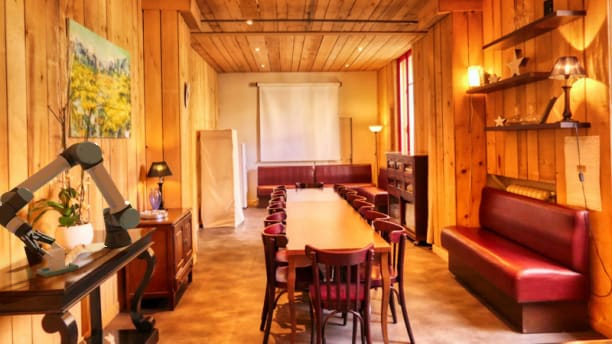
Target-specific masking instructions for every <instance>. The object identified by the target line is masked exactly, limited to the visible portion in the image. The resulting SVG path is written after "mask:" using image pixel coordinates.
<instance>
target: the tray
mask: <svg viewBox="0 0 612 344" xmlns="http://www.w3.org/2000/svg"><path fill="white" fill-rule="evenodd" d="M79 267H80V266H79V264H76V263H73V262H70V263H69V267H66V268H64V269H61V270H57V271H53V272H50V271H49V266H47V267H42V268H39V269H36V271H37V275H39V276H42V277H44V278H48V279H49V278H51V277H55V276H56V277H57V276H60V275H63V274H67V273H71V272H74V271H79V270H80V268H79Z"/></svg>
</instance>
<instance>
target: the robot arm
mask: <svg viewBox="0 0 612 344" xmlns="http://www.w3.org/2000/svg"><path fill="white" fill-rule="evenodd" d="M104 162H105V158H103V151H102V147H101V146H100V145H99V144H98V143H96V142H94V141H89V140H88V141H87V140H86V141H81V142H76V143H73V144H71V145H70V146H68V147H67V148H65V149H64V150H63V151H61V152H60V153H59V154H57V156H56V158H55V159H53V160H52V161H51V162H49V163H48V164H47V165H45V166H44V167H42V168H41V169H39V170H38V171H36V172H35V173H34V174H32V175H30V176H29V177H27V178H26V179H25V180H24V181H22V182H21V183H19V184H18V185H16V186H15V187H14V188H12V189H10V190H9V191H6V192H3V193H2V194H1V195H0V227H3V228H4V229H6V230H7V232H8V233H9V232H10V233H12V234H13V235H14V236H15V237H17V238H18V239H19V241H20V242H22V243H24V246H25V245H26V246H27V247H28V248H29V250H30V251H31V252H32V253H34V254H36V253H38V254H40V255H41V256H42V257H43V259H45V260H46V261H47V260H48V261H50V260H51V259H52V257H53V256H52V255H51V254H50V253H48V252H47V250H46V249H44V248H43V247H42V248H40V247H39V245H38V244H37V243H38V242H39V243H42V244H43V243H44V244H47V245H48V246H50V247H51V248H52V249H55V248H64V247H63V246H61V245H60V244H59V243H57V242H56V241H57V239H56V238H54V237H52V236H50V235H48V234H46V233H44V232H41V231H40V230H38V229H36V230H35V231H34V230H33V225H31V224H30V223H29V222H27V221H26V220H25V219H24V218H22V217H20V216H19V215H17V214H18V213H19V212H21V211H22V210H23V209H24V208H25V207H26V206H27V205H28V204H29V203H31V202H32V200H34V198H35V195H34V193H36V192H37V191H39V190H40V189H41V188H43V187H45V186H46V185H47V184H49V183H50V182H51V181H52V180H54V179H55V178H57V177H58V176H59V175H61V174H63V172H65V171H66V170H71V169H72V168H75V167H76V166H80V168H81V169H82V170H83V171H84V172H87V173H88V175H89V176H90V178H91V179H92V182H93V183H94V184H95V186H96V187H97V189H98V191H99V192H100V195H102V197H103V199H104V201H105V202H106V203H107V205H108V207H105V208H103V209H102V216H103V221H104V227H105V229H104V230H105V237H104V242H103V243H104V244H103V246H104V245H105V246H107V247H109V248H108V249H115V248H116V249H117V248H120V247H121V248H123V247H126V246H129V245H132V243H133V239H132V237H131V235H130V233H129V232H128V230H131V229H132V230H133V229H135V228H136V227H137V226H138V225H139V224H140V222H141V221H140V220H141V214H140V212H139V210H138V209H136V208H134V207H133V206H132V204H131V203H130V201H127V200H125V198H124V196H123V195H122V193H121V192H120V190H119V189H118V187H117V185H116V184H115V181H114V180H113V178H112V176H111V175H110V174H109V172H108V170H107V168H106V167H105V165H104ZM65 251H66V248H64V252H65Z"/></svg>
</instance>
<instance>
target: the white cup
mask: <svg viewBox="0 0 612 344" xmlns="http://www.w3.org/2000/svg"><path fill="white" fill-rule="evenodd" d="M64 249H65V247H63V248H55V249H54V248H52V249H48V250H46V251H47V252H48V253H50V254H51V255H52V256H53V257H52V259H51V260H50V261H48V260H47V259H46V261H47V265H48V266H47V267H49V271H50V272H53V271H57V270H61V269H64V268H66V267H65V263H66V254H65V251H64Z"/></svg>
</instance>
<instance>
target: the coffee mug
mask: <svg viewBox="0 0 612 344" xmlns="http://www.w3.org/2000/svg"><path fill="white" fill-rule="evenodd" d="M37 244H38V245H39V247H40V248H43V242H37ZM23 248H24V249H23V250H24V253H25V256H26V259H27V263H28V265H29V266H33V265H38V264H42V263H43V262H44V261H43V260H44V257H42V256H41V255H40V254H38V253H36V254H34V253H32V252H31V251H30V250H29V248H28V247H27V246H26V245H25V244H24V245H23Z"/></svg>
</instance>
